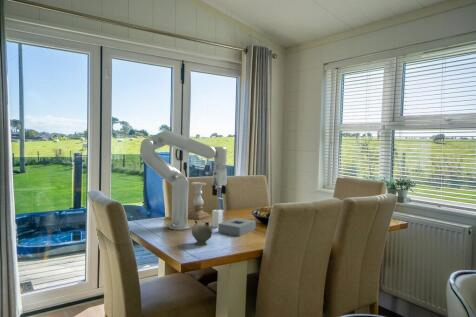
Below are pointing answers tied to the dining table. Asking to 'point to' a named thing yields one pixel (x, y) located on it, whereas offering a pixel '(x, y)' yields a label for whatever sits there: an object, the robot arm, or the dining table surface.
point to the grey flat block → (237, 226)
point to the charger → (216, 218)
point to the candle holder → (198, 203)
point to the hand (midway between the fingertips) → (219, 194)
